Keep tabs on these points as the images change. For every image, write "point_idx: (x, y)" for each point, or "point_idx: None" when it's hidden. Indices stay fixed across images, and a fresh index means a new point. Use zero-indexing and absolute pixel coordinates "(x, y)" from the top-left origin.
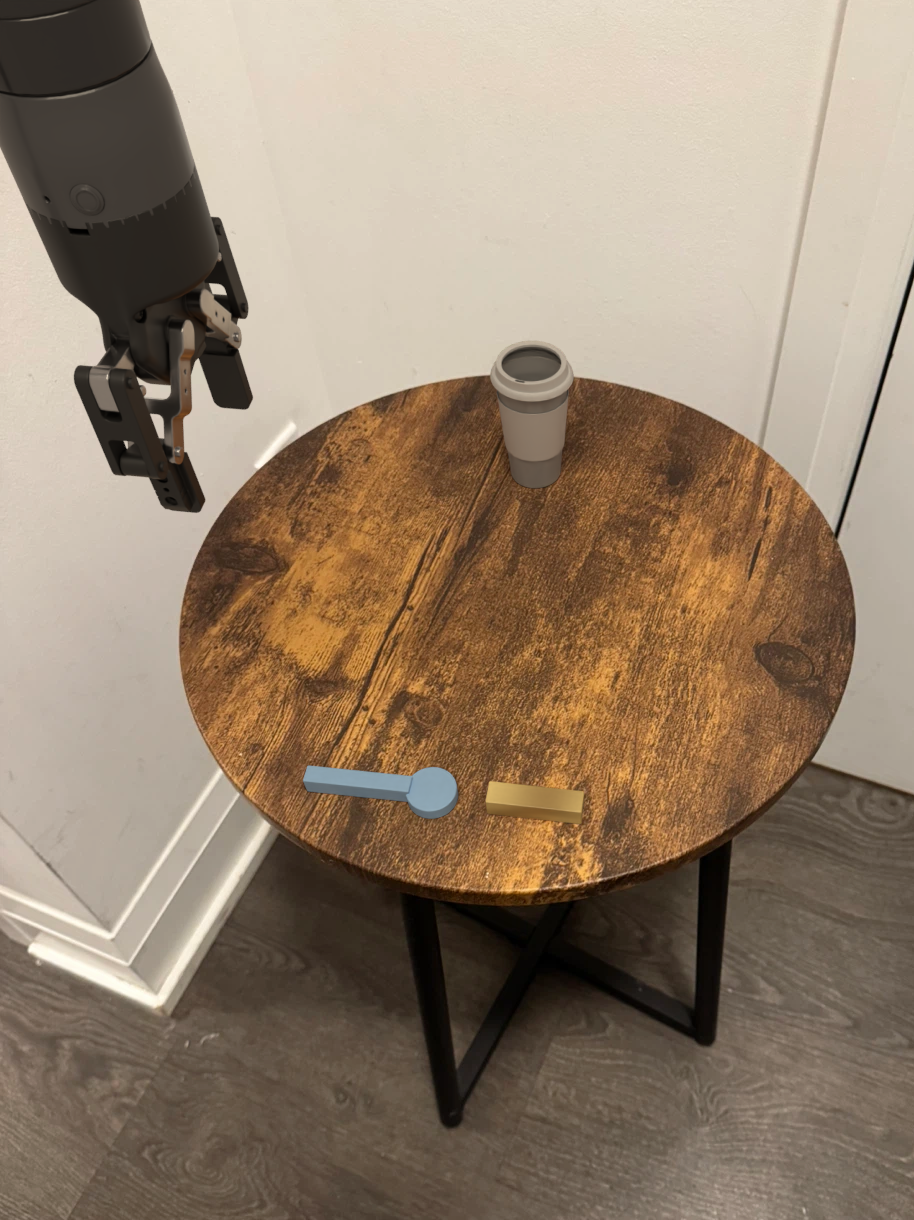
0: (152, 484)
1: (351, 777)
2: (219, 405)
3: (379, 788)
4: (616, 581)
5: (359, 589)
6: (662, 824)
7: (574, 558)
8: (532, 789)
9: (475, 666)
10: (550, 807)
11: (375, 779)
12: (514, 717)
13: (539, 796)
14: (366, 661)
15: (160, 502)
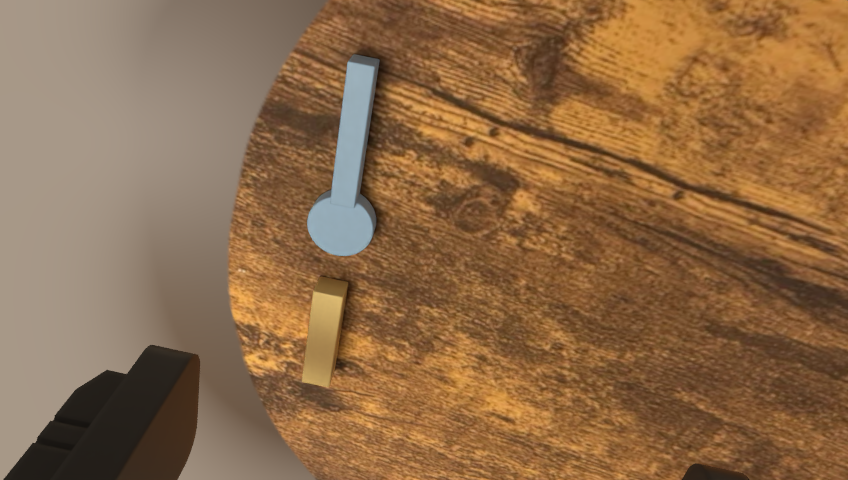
0: (17, 466)
1: (352, 131)
2: (693, 471)
3: (334, 168)
4: (659, 439)
5: (741, 117)
6: (310, 430)
7: (715, 402)
8: (330, 340)
9: (548, 275)
10: (307, 354)
11: (348, 163)
12: (458, 313)
13: (321, 345)
14: (583, 131)
15: (69, 399)
